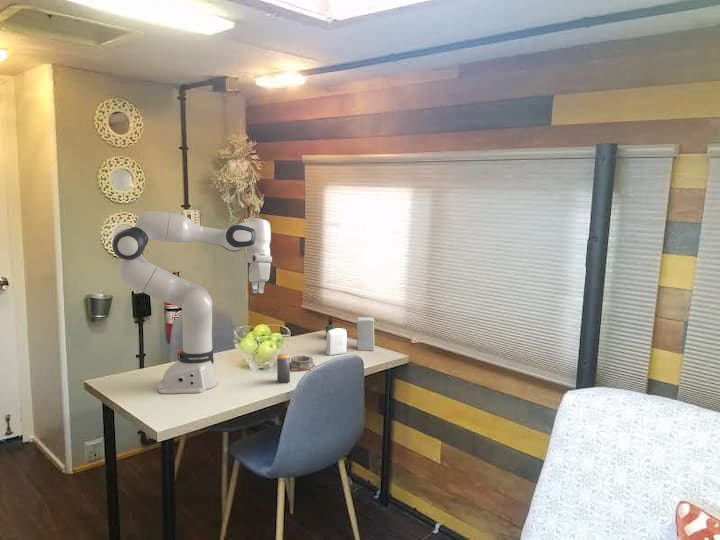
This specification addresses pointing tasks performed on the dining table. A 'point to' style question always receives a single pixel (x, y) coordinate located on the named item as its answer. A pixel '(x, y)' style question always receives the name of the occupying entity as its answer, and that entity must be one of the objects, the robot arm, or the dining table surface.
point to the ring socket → (301, 363)
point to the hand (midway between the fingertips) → (257, 293)
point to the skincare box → (365, 333)
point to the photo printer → (336, 341)
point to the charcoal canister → (283, 368)
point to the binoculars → (329, 326)
